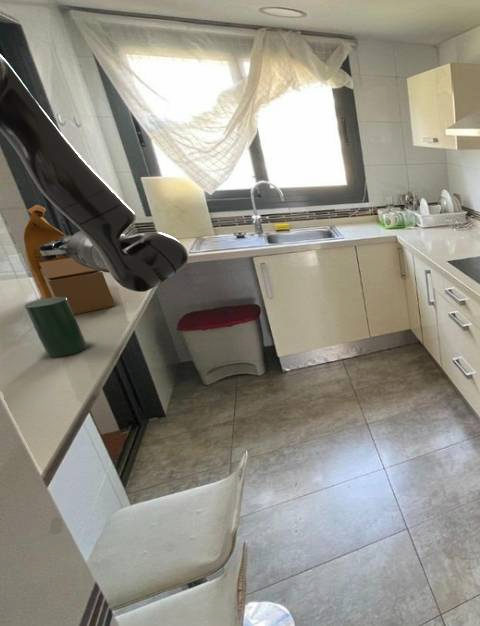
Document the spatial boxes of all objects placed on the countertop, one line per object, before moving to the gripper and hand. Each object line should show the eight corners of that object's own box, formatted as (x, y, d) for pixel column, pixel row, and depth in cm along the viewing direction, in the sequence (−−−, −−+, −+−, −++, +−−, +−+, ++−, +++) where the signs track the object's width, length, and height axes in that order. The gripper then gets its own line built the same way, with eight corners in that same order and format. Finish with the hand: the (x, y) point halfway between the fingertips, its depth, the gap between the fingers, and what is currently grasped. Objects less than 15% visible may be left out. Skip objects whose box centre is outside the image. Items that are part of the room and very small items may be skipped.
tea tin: (46, 360, 84) (22, 309, 80) (49, 350, 88) (26, 301, 84) (86, 351, 87) (65, 302, 83) (87, 342, 91) (67, 294, 87)
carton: (115, 305, 110) (101, 269, 106) (64, 316, 103) (47, 278, 100) (104, 295, 116) (90, 260, 113) (55, 305, 110) (39, 268, 107)
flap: (101, 270, 106) (100, 269, 106) (47, 279, 100) (47, 278, 100) (92, 255, 108) (92, 254, 108) (39, 263, 102) (39, 262, 102)
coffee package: (98, 283, 125) (65, 202, 116) (96, 295, 116) (60, 208, 108) (45, 292, 119) (7, 206, 110) (39, 304, 110) (-3, 212, 102)
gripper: (142, 224, 88) (101, 217, 96) (47, 238, 77) (10, 228, 85) (155, 261, 91) (115, 252, 99) (66, 280, 80) (28, 267, 88)
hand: (66, 241), depth 92 cm, fingers closed
